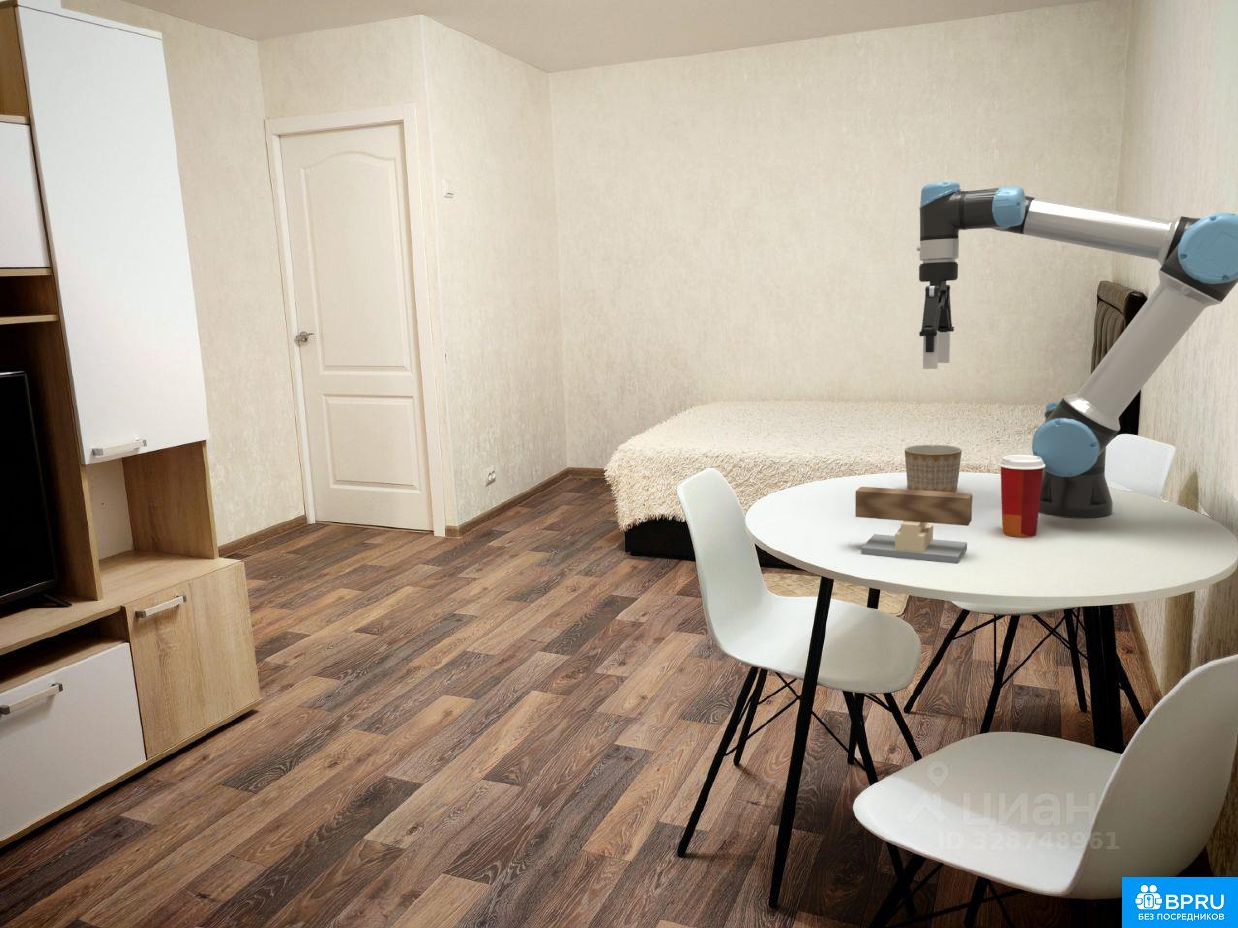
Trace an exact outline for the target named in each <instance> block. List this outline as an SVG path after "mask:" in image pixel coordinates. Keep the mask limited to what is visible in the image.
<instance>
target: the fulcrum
mask: <svg viewBox="0 0 1238 928" xmlns="http://www.w3.org/2000/svg"><path fill="white" fill-rule="evenodd" d="M967 549H968V542H967V541H955V540H946V539H944V540H943V539H936V538H934V523H926V522H913V521H901V523H900V528H899V530H897V532H895V533H894V535H892V534H891V535H888V534H879V533H878V534H877V533H874V534H873V535H872V536H871V537H870V538H869V539H868V540H867V541H866V542H865V543H864V544H863V545H862V546H861V549H860V550H861V551H860V554H862V555H870V556H871V555H872V556H880V557H882V556H883V557H891V558H899V559H901V558H902V559H911V560H922V561H930V562H931V561H932V562H940V563H950V564H952V563H953V564H959V562H960V561H961V559H962V558H963V555H965V552H966V551H967Z"/></svg>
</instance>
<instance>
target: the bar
mask: <svg viewBox="0 0 1238 928" xmlns="http://www.w3.org/2000/svg"><path fill="white" fill-rule="evenodd" d="M854 502H855V503H854V504H855V518H861V519H862V518H864V519H865V518H866V519H877V520H890V521H901V522H903V521H913V522H926V523H928V524H941V525H951V526H952V525H953V526H967V527H969V525H970V524H971V522H972V519H973V518H972V517H973V516H972V515H973V514H972V513H973V511H972V510H973V493H969V492H967V493H966V492H939V491H923V490H908V488H907V489H905V488H904V489H902V488H887V487H872V486H871V487H870V486H859V488H858V489H856V490H855V501H854Z"/></svg>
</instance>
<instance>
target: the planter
mask: <svg viewBox="0 0 1238 928" xmlns="http://www.w3.org/2000/svg"><path fill="white" fill-rule="evenodd" d="M962 450H963V449H961V448H960V447H958V446H953V445H944V444H919V445H918V444H915V445H911V446H907V447H905V448H904V457H905V458H904V459H905V470H906V471H905V473H906V483H907V490H923V491H939V492H955V493H957V491H958V486H959V485H958V483H959V477H960V476H959V475H960V467H961V458H962V453H963V452H962Z"/></svg>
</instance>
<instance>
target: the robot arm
mask: <svg viewBox="0 0 1238 928" xmlns="http://www.w3.org/2000/svg"><path fill="white" fill-rule="evenodd" d="M920 194H921V195H920V203H919V204H920V205H919V207H918V209H919V245H917V246H916V251H917V252H919V260H920V262H922V263H920V265H918V266H919V267H918V281H919V282H922V283H924V282H925V283H928V282H929V285H928V286H927V285H926V286H925V288H924V290H925V292H924V294H925V295H924V296H925V297H924V304H923V314H922V323H921V324H922V325H921V330H920V331H918V332H919V333H918V334H919V335H918V336H919V337H923V343H922V345H923V346H922V347H923V349H922V350H923V351H922V369H923V370H927V369H928V370H929V369H930V370H931V369H932V370H934V369H935V370H938V369H939V368H938V364H948V363H950V354H951V353H950V342H951V332H954V331H955V326H953V323H952V307H951V293H950V292H951V286H950V284H947V282H948V281H949V282H950V281H956V280H958V277H959V276H958V275H959V263H958V262H957V261H956V260H957V259H958V258H959V253H960V251H959V249H960V239H959V237H960V236H959V234H960V233H959V232H960V231H962V230H963V231H968V230H978V229H979V230H980V229H981V230H983V229H992V230H995V231H998V232H999V231H1000V232H1004V233H1005V232H1008V233H1011V234H1012V233H1013V234H1019V235H1023V236H1028V237H1030V236H1031V237H1034V238H1040V239H1046V240H1051V241H1055V242H1061V243H1066V244H1070V245H1071V244H1072V245H1077V246H1083V247H1089V248H1092V249H1098V250H1105V251H1107V252H1108V251H1109V252H1115V253H1119V254H1124V255H1129V256H1135V257H1141V258H1145V259H1151V260H1156V261H1158V263H1159V265H1160V266H1161V267H1160V268H1159V269H1158V271H1157V272H1158V276H1159V283H1158V286H1156V288H1155V290H1154V291H1153V292H1152V293H1151V295H1150V296H1149V297H1148V299H1147V300H1146V301H1145V302H1144V304H1143V305H1142V307H1141V308H1140V309H1139V310H1138V312H1137V313H1136V314H1135V316H1134V317H1133V319H1132V320H1130V323H1128V325H1127V327H1126V328H1125V329H1124V331H1123V332H1122V333H1121V335H1120V336H1119V337H1118V338H1117V340H1116V341H1115V342H1114V343H1113V345H1112V346H1111V348H1110V349H1109V350H1108V352H1107V353H1106V354H1105V355H1104V357H1103V358H1102V360H1101V361H1100V362H1099V364H1098V365H1097V366H1096V368H1095V369H1094V370H1093V371H1092V373H1091V374H1090V375H1089V377H1087V379H1086V381H1085V382H1084V383H1083V385H1082V386H1081V387H1080V389H1079V390H1077V392H1076V393H1071V394H1067V395H1064V396H1063V398H1061V400H1060V401H1059V402H1055V401H1051V402H1049V403H1047V404H1046V407H1045V412H1044V418H1045V419H1044V423H1043V424H1041V425H1040V426H1039V427H1038V428H1037V429H1036V431H1035V432H1034V434H1033V438H1032V440H1031V441H1032V443H1031V444H1032V445H1031V446H1032V447H1031V450H1032V456H1038V457H1041V458H1042V460H1043V463H1044V464H1045V467H1044V468H1043V477H1042V486H1041V496H1040V505H1039V513H1042V514H1046V515H1050V516H1057V517H1064V518H1077V519H1082V518H1083V519H1084V518H1086V519H1087V518H1100V517H1105V516H1109V515H1111V514H1112V513H1113V505H1114V504H1113V498H1112V495H1111V493H1110V489H1109V485H1108V483H1107V482H1108V481H1107V480H1106V479H1107V478H1106V475H1105V474H1106V473H1105V472H1106V453H1107V447H1108V445H1109V444H1110V443H1111V441H1112V440H1113V439H1114V437H1116V435H1117V434H1118V432H1119V431H1120V430H1121V425H1120V420H1119V418H1120V416H1121V415H1122V413H1123V412H1124V411H1125V410H1126V409H1127V407H1128V406H1129V405H1130V404H1131V402H1132V401H1133V400H1134V398H1135V397H1136V396H1137V395H1138V393H1140V391H1141V389H1142V388H1143V387H1144V386H1145V385H1146V384H1147V382H1148V381H1149V380H1150V378H1151V377H1152V376H1153V375H1154V374H1155V372H1156V371H1157V370H1158V369H1159V367H1160V365H1162V363H1163V362H1164V360H1165V359H1166V358H1167V356H1169V354H1170V353H1171V352H1172V350H1173V349H1174V348H1175V346H1176V345H1177V344H1178V343H1179V342H1180V340H1182V338H1183V336H1185V334H1186V333H1187V332H1188V330H1189V329H1190V328H1191V327H1192V325H1193V324H1194V323H1195V322H1196V321H1197V320H1198V318H1199V316H1200V315H1202V312H1203V311H1204V310H1205V309H1206V308H1208V307H1211V306H1216V305H1219V304H1221V303H1223V301H1224V300H1225V298H1227V296H1228V295H1229V294H1230V292H1232V290H1233V289H1234V288H1235V286H1236V285H1237V284H1238V215H1237V214H1235V213H1230V212H1218V213H1213V214H1210V215H1207V216H1204V217H1202V218H1200V217H1199V218H1196V217H1188V216H1182V215H1180V216H1179V215H1178V216H1177V217H1176V218H1173V219H1166V218H1160V217H1155V216H1148V215H1141V214H1137V213H1136V214H1135V213H1130V212H1125V211H1124V212H1123V211H1118V210H1111V209H1105V208H1100V207H1093V206H1090V205H1089V206H1088V205H1081V204H1078V203H1077V204H1074V203H1070V202H1065V201H1064V202H1063V201H1060V200H1059V201H1058V200H1053V199H1051V200H1050V199H1046V198H1039V197H1033V196H1029V195H1026V193H1025V190H1024V188H1022V187H1020V186H1002V187H994V188H987V189H986V188H985V189H977V190H966V191H965V190H962V189H961V186H960V183H959V182H957V181H945V182H944V181H943V182H942V181H941V182H932V183H928V184H925V185H924V186H923V187H922V188H921V192H920Z"/></svg>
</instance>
